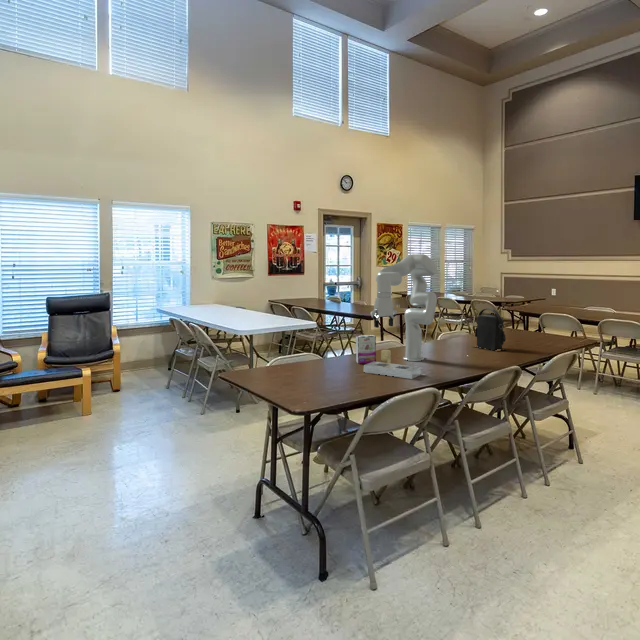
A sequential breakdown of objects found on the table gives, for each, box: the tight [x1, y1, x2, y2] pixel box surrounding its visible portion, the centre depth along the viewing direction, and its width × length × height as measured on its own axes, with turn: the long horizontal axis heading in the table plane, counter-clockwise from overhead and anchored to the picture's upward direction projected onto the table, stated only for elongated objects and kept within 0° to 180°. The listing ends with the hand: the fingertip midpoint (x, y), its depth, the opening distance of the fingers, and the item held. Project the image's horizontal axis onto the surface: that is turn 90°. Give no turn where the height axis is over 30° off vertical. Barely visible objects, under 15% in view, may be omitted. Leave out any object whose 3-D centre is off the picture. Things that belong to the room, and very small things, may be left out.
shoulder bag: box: [474, 308, 507, 351], centre depth 322 cm, size 23×9×28 cm, turn 34°
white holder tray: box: [363, 361, 422, 380], centre depth 253 cm, size 12×28×4 cm, turn 56°
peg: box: [380, 349, 392, 364], centre depth 266 cm, size 4×4×10 cm
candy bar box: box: [355, 334, 377, 365], centre depth 280 cm, size 11×5×16 cm, turn 101°
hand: (383, 326), depth 258 cm, fingers open, 9 cm apart
